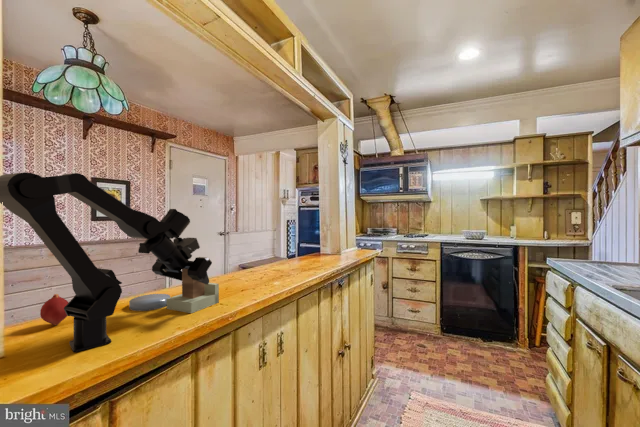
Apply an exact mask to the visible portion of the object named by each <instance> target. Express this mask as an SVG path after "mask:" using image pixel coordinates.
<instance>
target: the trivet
mask: <svg viewBox="0 0 640 427" xmlns="http://www.w3.org/2000/svg"><path fill="white" fill-rule="evenodd" d="M167 298H171V295H170V294H167V293H152V294H143V295H140V296H136V297H134V298H131V299H130V300H128V301H129V310H130V311H133V312H134V311H135V312H148V311H154V310H159V309H162V308H164V307H165V308H166V299H167Z"/></svg>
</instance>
